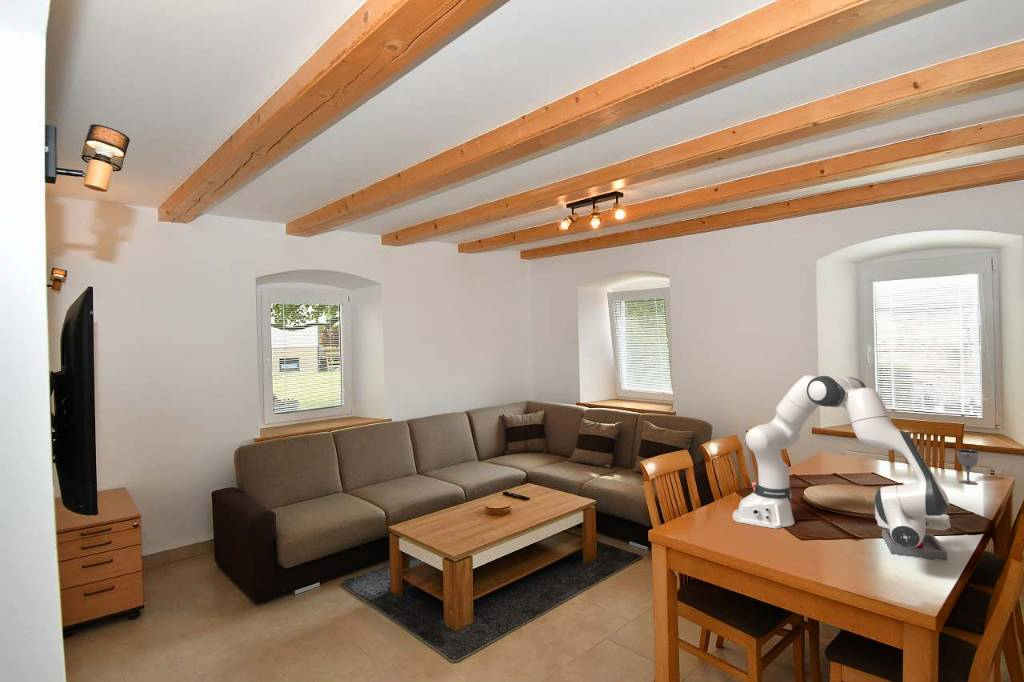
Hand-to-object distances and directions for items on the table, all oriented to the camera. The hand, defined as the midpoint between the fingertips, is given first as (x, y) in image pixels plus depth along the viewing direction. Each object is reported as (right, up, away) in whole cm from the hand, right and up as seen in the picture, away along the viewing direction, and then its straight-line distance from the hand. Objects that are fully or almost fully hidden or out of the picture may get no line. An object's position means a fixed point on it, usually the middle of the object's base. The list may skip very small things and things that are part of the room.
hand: (912, 509), depth 187 cm
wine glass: (+78, -9, +70) cm, 105 cm away
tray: (0, -13, 0) cm, 13 cm away
